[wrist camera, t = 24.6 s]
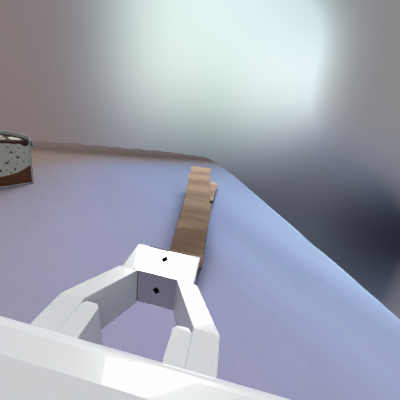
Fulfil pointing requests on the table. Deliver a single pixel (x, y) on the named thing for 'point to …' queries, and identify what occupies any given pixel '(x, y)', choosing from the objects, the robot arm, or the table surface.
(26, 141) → the food container
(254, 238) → the table surface
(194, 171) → the domino
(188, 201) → the domino
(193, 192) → the domino
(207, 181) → the domino
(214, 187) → the domino
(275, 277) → the table surface
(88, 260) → the table surface
